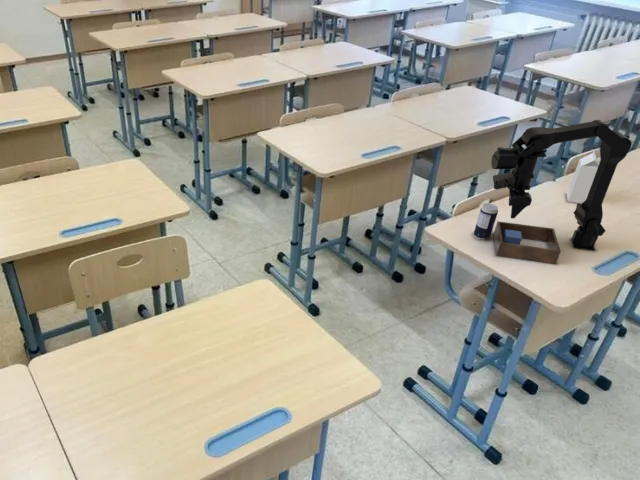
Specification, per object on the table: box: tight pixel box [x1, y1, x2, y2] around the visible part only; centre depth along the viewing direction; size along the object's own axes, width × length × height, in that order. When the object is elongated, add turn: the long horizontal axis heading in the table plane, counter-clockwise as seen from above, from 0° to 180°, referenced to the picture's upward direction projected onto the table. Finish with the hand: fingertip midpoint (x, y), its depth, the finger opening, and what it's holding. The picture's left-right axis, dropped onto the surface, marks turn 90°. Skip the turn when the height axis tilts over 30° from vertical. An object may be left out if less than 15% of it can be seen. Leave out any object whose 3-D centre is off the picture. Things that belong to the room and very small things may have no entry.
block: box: [502, 229, 523, 245], centre depth 191 cm, size 5×5×5 cm
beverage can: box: [473, 203, 499, 241], centre depth 194 cm, size 6×6×12 cm
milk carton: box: [566, 150, 601, 204], centre depth 214 cm, size 7×7×19 cm
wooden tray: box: [493, 220, 561, 265], centre depth 190 cm, size 19×16×5 cm
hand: (511, 211), depth 187 cm, fingers open, 9 cm apart
